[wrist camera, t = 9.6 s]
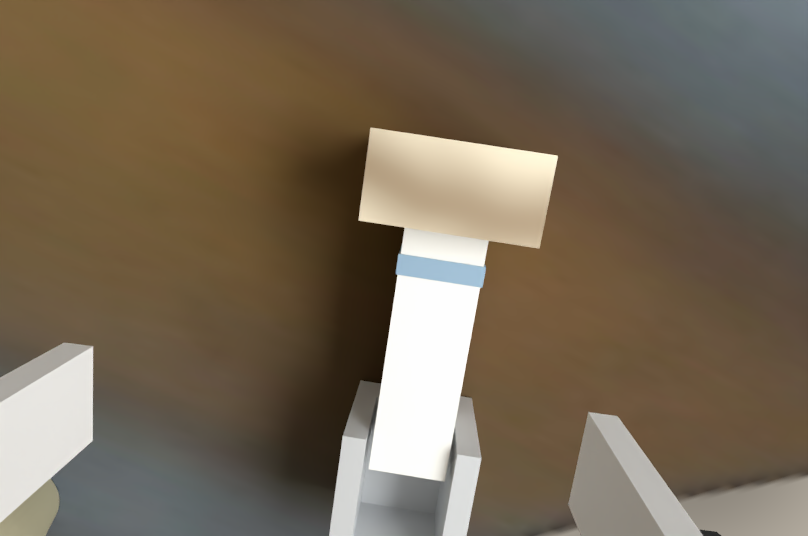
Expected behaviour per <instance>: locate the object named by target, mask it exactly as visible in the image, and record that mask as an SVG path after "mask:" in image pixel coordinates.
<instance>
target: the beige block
mask: <svg viewBox="0 0 808 536" xmlns="http://www.w3.org/2000/svg"><path fill="white" fill-rule="evenodd" d="M557 158H558V156H556V155H549V154H543V153H536V152H529V151H523V150H516V149H509V148H503V147H496V146H490V145H483V144H476V143H470V142H463V141H456V140H450V139H443V138H436V137H430V136H423V135H417V134H410V133H403V132H397V131H390V130H383V129H377V128H370V136H369V144H368V151H367V159H366V166H365V174H364V182H363V189H362V197H361V204H360V212H359V219H358V221H365V222H371V223H378V224H384V225H391V226H397V227H404V228H410V229H417V230H423V231H430V232H436V233H443V234H449V235H456V236H462V237H469V238H475V239H481V240H488V241H494V242H501V243H507V244H514V245H520V246H527V247H533V248H540V243H541V238H542V233H543V228H544V223H545V218H546V213H547V208H548V203H549V198H550V193H551V188H552V183H553V178H554V173H555V168H556V163H557Z"/></svg>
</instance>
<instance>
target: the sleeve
mask: <svg viewBox="0 0 808 536" xmlns="http://www.w3.org/2000/svg"><path fill="white" fill-rule="evenodd" d="M380 389H381V384H380V383H374V382H368V381H362V380H360V384H359V387H358V390H357V393H356V396H355V399H354V402H353V406H352V409H351V412H350V415H349V418H348V421H347V424H346V427H345V431H344V434H343V438H342V445H341V453H340V460H339V467H338V475H337V482H336V489H335V496H334V504H333V511H332V518H331V526H330V533H329V536H466V535H467V530H468V524H469V519H470V514H471V509H472V504H473V499H474V494H475V489H476V483H477V478H478V473H479V468H480V463H481V453H480V447H479V441H478V434H477V428H476V422H475V416H474V410H473V403H472V398H468V397H462V396H460V400H459V406H458V411H457V417H456V422H455V428H454V433H453V439H452V444H451V450H450V455H449V461H448V466H447V472H446V477H445V482H444V481H438V480H432V479H425V478H419V477H413V476H407V475H401V474H395V473H389V472H382V471H376V470H370V469H369V463H370V456H371V449H372V443H373V436H374V429H375V423H376V416H377V409H378V403H379V396H380Z"/></svg>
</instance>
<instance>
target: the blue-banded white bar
mask: <svg viewBox="0 0 808 536" xmlns="http://www.w3.org/2000/svg"><path fill="white" fill-rule="evenodd" d="M487 246H488V240H481V239H475V238H469V237H462V236H456V235H449V234H443V233H436V232H430V231H423V230H417V229H410V228H405V229H404V235H403V242H402V245H401V248H400V251H399V254H398V261H397V268H396V274H397V275H398V276H397V282H396V289H395V296H394V302H393V309H392V316H391V322H390V329H389V336H388V342H387V349H386V356H385V362H384V369H383V376H382V383H381V389H380V396H379V403H378V409H377V416H376V423H375V429H374V436H373V443H372V449H371V456H370V463H369V469H370V470H376V471H382V472H389V473H395V474H401V475H407V476H413V477H419V478H425V479H432V480H438V481H444V482H445V477H446V472H447V466H448V461H449V455H450V450H451V444H452V439H453V433H454V428H455V422H456V417H457V411H458V406H459V400H460V395H461V389H462V384H463V378H464V373H465V367H466V362H467V356H468V351H469V345H470V340H471V334H472V329H473V323H474V318H475V312H476V307H477V301H478V296H479V290H480V287H481V288H482V287H483V281H484V276H485V270H486V266H485V264H484V263H485V257H486V252H487Z"/></svg>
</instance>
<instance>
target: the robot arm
mask: <svg viewBox="0 0 808 536" xmlns="http://www.w3.org/2000/svg"><path fill="white" fill-rule="evenodd" d="M92 441H93V346H86V345H79V344H71V343H63V344H61V345H59V346H57V347H55V348H53V349H52V350H50V351H48V352H46V353H44V354H42V355H41V356H39V357H37V358H35V359H33V360H31V361H30V362H28V363H26V364H24V365H22V366H20V367H19V368H17V369H15V370H13V371H11V372H9V373H8V374H6V375H4V376H2V377H0V523H1V522H2V521H3V520H4V519H5V518H6V517H7V516H8V515H10V514H11V513H12V512H13V511H14V510H15V509H16V508H17V507H19V506H20V505H21V504H22V503H23V502H24V501H25V500H26V499H28V498H29V497H30V496H31V495H32V494H33V493H34V492H35V491H37V490H38V489H39V488H40V487H41V486H42V485H43V484H44V483H46V482H47V481H48V480H49V479H50V478H51V477H52V476H53V475H55V474H56V473H57V472H58V471H59V470H60V469H61V468H62V467H64V466H65V465H66V464H67V463H68V462H69V461H70V460H71V459H73V458H74V457H75V456H76V455H77V454H78V453H79V452H80V451H82V450H83V449H84V448H85V447H86V446H87V445H88V444H89V443H91V442H92ZM568 505H569V507H570V510H571V512H572V515H573V517H574V520H575V522H576V525H577V527H578V530H579V532H580V535H581V536H721V535H719V534H718V533H717V532H712V531H705V530H699V529H698V528H697V526H696V525H695V524H694V522H693V521H692V519H691V518H690V517H689V515H688V514H687V512H686V511H685V510H684V508H683V507H682V505H681V504H680V503H679V501H678V500H677V498H676V497H675V496H674V494H673V493H672V491H671V490H670V489H669V487H668V486H667V484H666V483H665V482H664V480H663V479H662V477H661V476H660V475H659V473H658V472H657V471H656V469H655V468H654V466H653V465H652V464H651V462H650V461H649V459H648V458H647V457H646V455H645V454H644V452H643V451H642V450H641V448H640V447H639V445H638V444H637V443H636V441H635V440H634V438H633V437H632V436H631V434H630V433H629V431H628V430H627V429H626V427H625V426H624V424H623V423H622V422H621V420H620V419H619V418H618V416H613V415H605V414H597V413H590V412H588V417H587V421H586V426H585V430H584V435H583V440H582V444H581V449H580V453H579V458H578V463H577V467H576V472H575V476H574V481H573V486H572V490H571V495H570V499H569V504H568Z"/></svg>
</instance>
